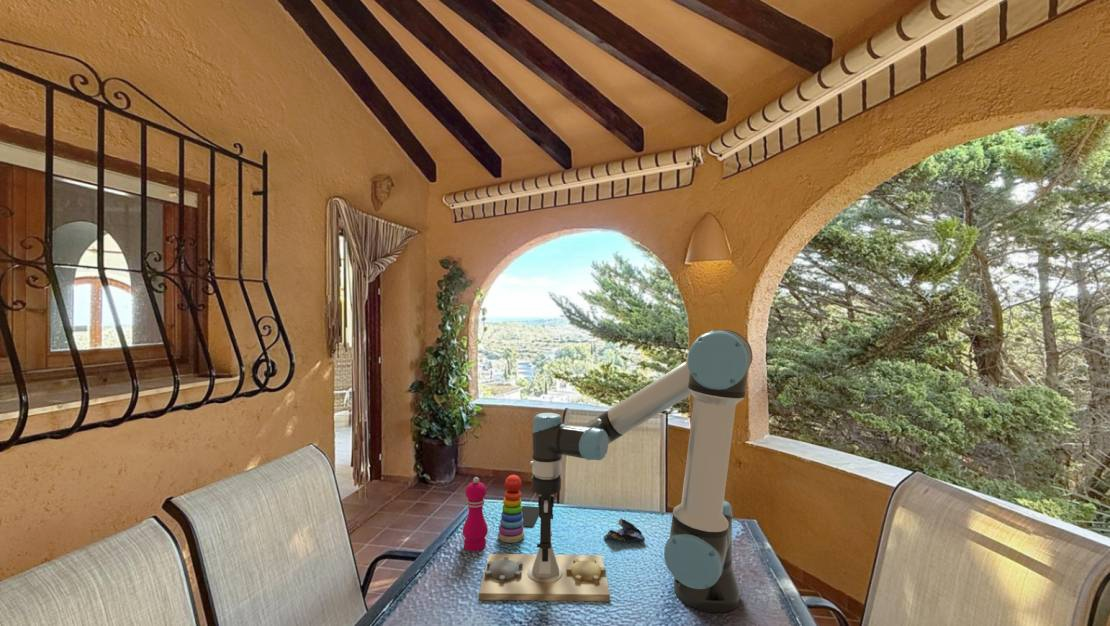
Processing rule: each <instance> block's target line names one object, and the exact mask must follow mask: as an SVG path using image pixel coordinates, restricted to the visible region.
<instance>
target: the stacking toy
mask: <svg viewBox="0 0 1110 626" xmlns="http://www.w3.org/2000/svg"><path fill="white" fill-rule="evenodd" d="M504 487H505V489H506V491H505V492H504V498H503V500H502V503H503V505H502V512H501V518H500V520H499V521H500V523H499V525H498V533H497V536H498V537H497V538H498V539H499V540H500V541H501V542H503V543H508V544H509V543H510V544H513V543H514V544H515V543H518V542H520V541H522V540H523V539H524V537H525V531H524V529H525V527H523V518H522V516H523V513H522V506H523V505H522V499H521V496H522V493H521V490H520V489H521V487H522V480H521V478H520V477H519V476H518V474H517V475H516V474H511V475H510V474H509V476H507V477H506V479H505V481H504Z"/></svg>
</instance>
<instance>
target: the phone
mask: <svg viewBox="0 0 1110 626" xmlns="http://www.w3.org/2000/svg"><path fill="white" fill-rule="evenodd" d="M522 513H523V516H522V518H523V527H524V528H527V529H528V528H531V529H532V528H534V527H535V525H536V523H537V521H538V519H539V518H540V517H539V506H530V505H529V506H528V505H522Z"/></svg>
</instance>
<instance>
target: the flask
mask: <svg viewBox="0 0 1110 626" xmlns="http://www.w3.org/2000/svg"><path fill="white" fill-rule="evenodd" d="M552 536H553V531H552V530H551V534H550V543H551V569H550V574H540V573H539V554H540V547H538V551H537V556H536V559H535V561H534V564H533V567H532V573H533V574H534V575H535V576H536V577H538V578H552V577H554V576H557V575H559V567H558V564H557V561H556V558H555V555H556V554H555V552H554V548H553V544H552Z"/></svg>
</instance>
